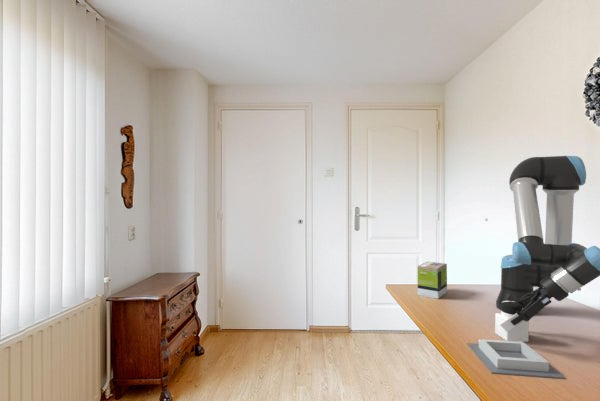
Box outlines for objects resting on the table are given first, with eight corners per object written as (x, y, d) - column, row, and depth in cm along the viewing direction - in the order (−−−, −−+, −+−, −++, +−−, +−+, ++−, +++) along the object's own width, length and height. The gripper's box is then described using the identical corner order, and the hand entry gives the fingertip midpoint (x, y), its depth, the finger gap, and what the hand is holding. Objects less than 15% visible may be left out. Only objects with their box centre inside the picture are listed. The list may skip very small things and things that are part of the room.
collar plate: (527, 350, 105) (527, 339, 105) (565, 381, 87) (565, 367, 87) (467, 346, 107) (467, 335, 107) (491, 375, 89) (491, 362, 89)
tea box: (427, 289, 173) (427, 260, 173) (447, 292, 167) (447, 263, 166) (416, 295, 161) (417, 265, 161) (438, 299, 155) (438, 268, 155)
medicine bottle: (528, 342, 109) (529, 305, 109) (507, 341, 109) (507, 305, 109) (515, 333, 116) (515, 299, 116) (494, 333, 116) (495, 299, 116)
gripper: (576, 304, 94) (513, 344, 102) (564, 285, 115) (512, 320, 123) (553, 283, 97) (493, 323, 105) (545, 268, 118) (496, 303, 126)
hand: (503, 321), depth 114 cm, fingers open, 13 cm apart
